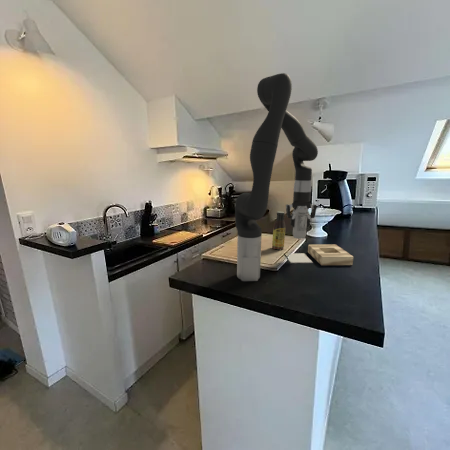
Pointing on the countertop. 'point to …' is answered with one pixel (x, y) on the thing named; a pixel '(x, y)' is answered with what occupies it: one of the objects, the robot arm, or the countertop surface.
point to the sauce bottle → (279, 232)
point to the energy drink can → (300, 223)
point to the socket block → (330, 255)
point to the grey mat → (299, 258)
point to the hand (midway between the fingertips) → (299, 226)
